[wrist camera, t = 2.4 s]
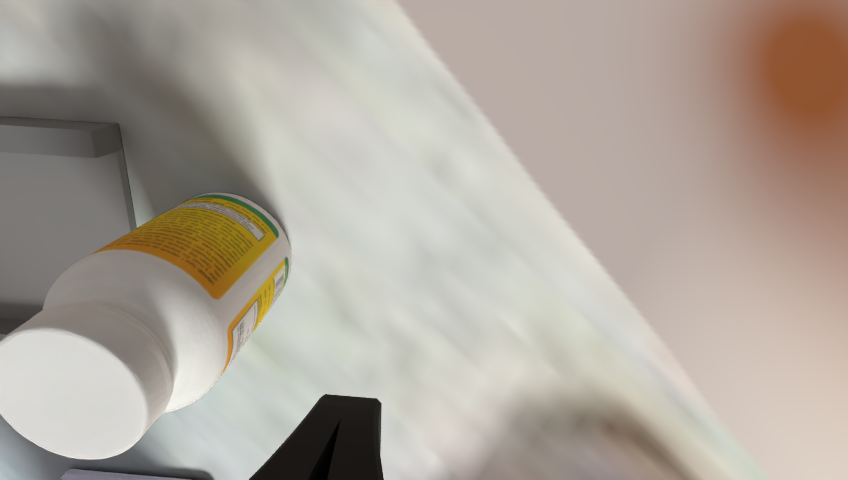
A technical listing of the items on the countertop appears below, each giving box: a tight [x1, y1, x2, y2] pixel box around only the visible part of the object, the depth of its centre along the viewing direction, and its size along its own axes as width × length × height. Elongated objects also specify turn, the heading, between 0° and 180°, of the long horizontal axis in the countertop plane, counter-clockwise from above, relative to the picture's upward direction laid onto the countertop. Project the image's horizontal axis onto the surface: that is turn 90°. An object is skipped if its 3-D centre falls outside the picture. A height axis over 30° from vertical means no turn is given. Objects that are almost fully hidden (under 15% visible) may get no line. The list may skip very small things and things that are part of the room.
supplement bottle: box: [0, 193, 292, 460], centre depth 17 cm, size 5×5×10 cm
